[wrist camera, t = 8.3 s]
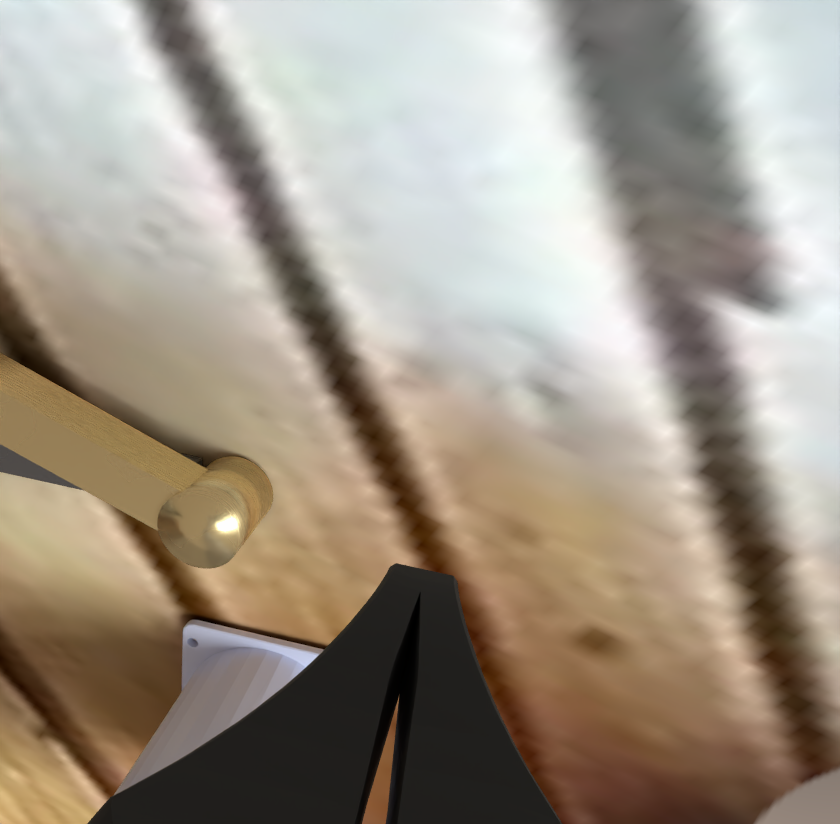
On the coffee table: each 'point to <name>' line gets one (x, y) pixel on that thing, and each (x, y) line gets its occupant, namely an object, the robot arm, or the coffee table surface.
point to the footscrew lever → (133, 469)
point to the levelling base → (20, 466)
